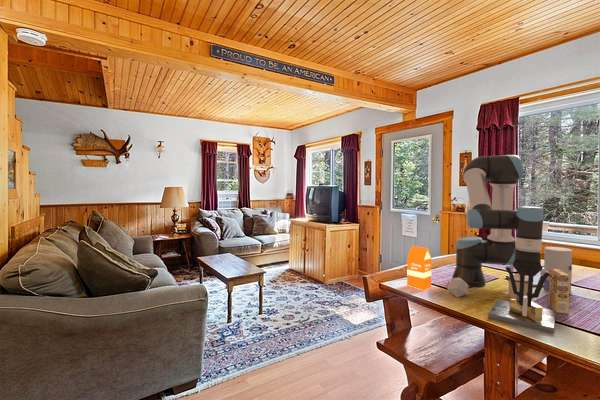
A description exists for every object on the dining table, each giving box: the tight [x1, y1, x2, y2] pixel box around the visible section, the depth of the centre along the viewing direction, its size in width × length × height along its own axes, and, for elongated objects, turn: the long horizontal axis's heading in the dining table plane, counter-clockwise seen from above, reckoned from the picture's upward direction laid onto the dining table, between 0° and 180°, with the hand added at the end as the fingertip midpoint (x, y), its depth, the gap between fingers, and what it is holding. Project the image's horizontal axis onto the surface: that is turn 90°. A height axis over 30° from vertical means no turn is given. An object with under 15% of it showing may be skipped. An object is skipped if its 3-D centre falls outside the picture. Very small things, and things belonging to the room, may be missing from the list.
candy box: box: [548, 269, 570, 315], centre depth 124 cm, size 9×4×15 cm, turn 159°
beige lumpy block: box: [509, 298, 544, 321], centre depth 115 cm, size 13×8×5 cm, turn 175°
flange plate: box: [487, 295, 557, 334], centre depth 117 cm, size 19×19×8 cm
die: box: [447, 277, 470, 298], centre depth 141 cm, size 8×9×10 cm
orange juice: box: [406, 245, 432, 291], centre depth 154 cm, size 8×9×20 cm
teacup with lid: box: [507, 272, 534, 300], centre depth 138 cm, size 12×9×12 cm
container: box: [543, 246, 573, 294], centre depth 146 cm, size 10×10×20 cm
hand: (524, 314), depth 111 cm, fingers closed
